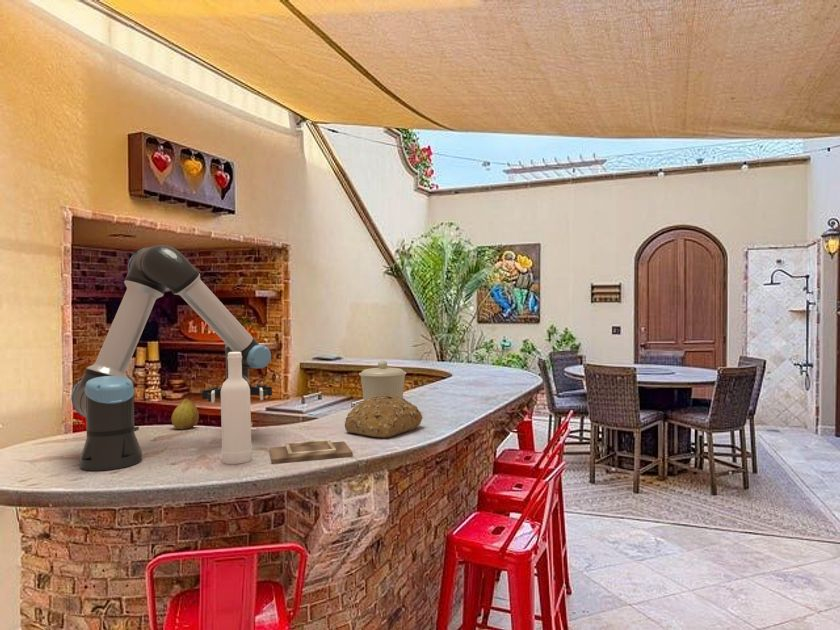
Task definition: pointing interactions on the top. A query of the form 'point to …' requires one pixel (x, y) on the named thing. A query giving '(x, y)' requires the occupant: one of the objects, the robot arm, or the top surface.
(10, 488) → the top surface
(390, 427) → the bread
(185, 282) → the robot arm
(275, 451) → the serving board
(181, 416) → the fruit
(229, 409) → the bottle
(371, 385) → the canister
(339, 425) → the top surface
